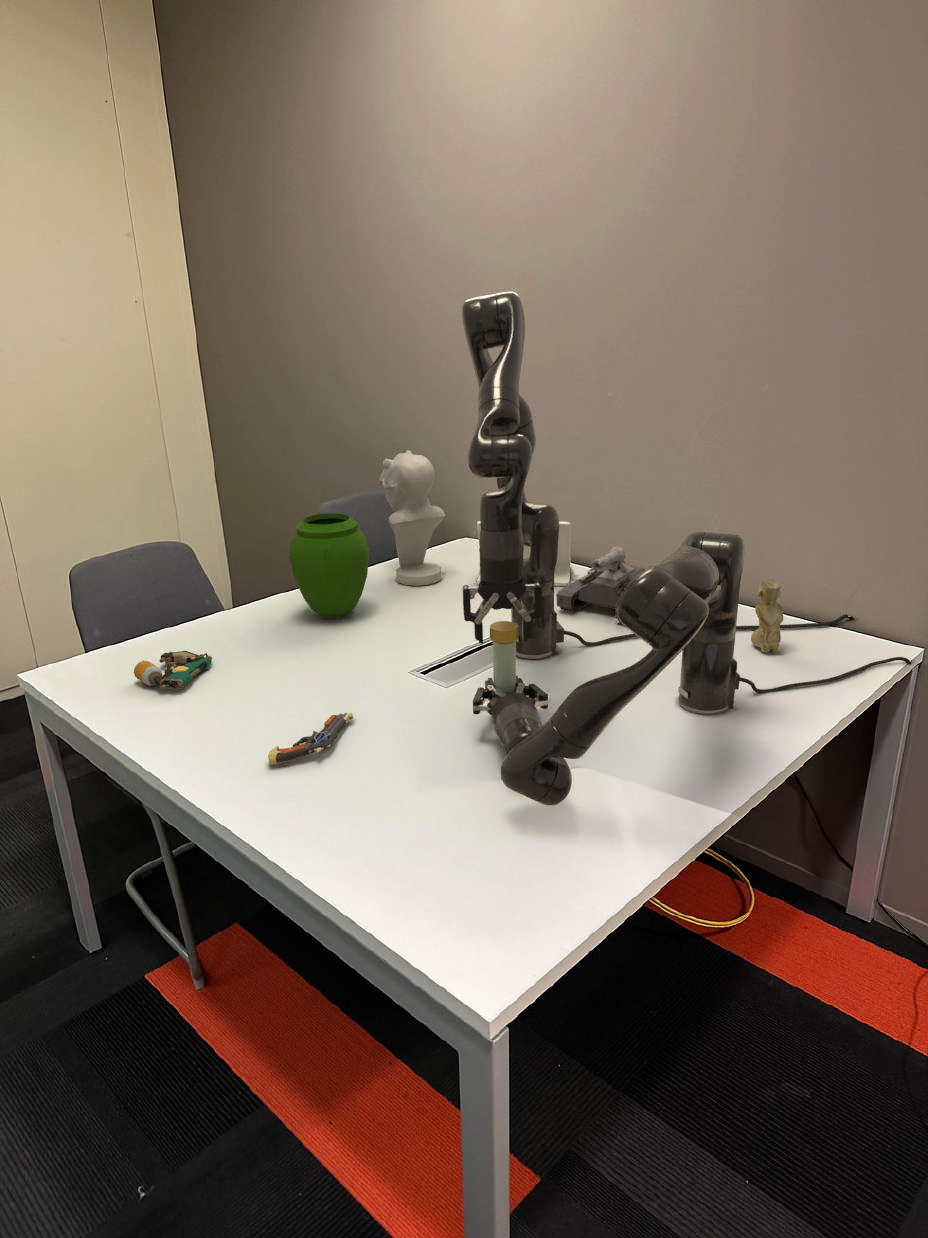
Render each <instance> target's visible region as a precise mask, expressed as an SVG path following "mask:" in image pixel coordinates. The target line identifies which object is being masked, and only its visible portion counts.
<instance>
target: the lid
mask: <svg viewBox="0 0 928 1238" xmlns="http://www.w3.org/2000/svg"><path fill="white" fill-rule="evenodd" d="M518 637H519V630H518V625H517V624H516V623H514V622H511V621H510V620H500V621H495V622H492V623H491V624H490V625H489V639H490V640H491V641H492V642H493V641H494V642H497V643H511V642H514V641H516V640H517V639H518Z"/></svg>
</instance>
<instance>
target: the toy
mask: <svg viewBox="0 0 928 1238" xmlns="http://www.w3.org/2000/svg"><path fill="white" fill-rule="evenodd" d="M626 557H627V556H626V551H625V549H624V548H622V547H621V546H614V547H612V548H611V549H610V550H609V552H608V553H607V554H605V555H604V556H601V557H599V558H598V559H597V557H596V558H594V559H593V560H592V561H590V562H589V563H590V564H591V565H592V567H591V568H590V569H589V570H587V573H586V575H584V576H582V577H580V578H578V579H577V580H575V581H573V582H570V583H569V585H567V586H563V587H562V588H560V589H559V590H558V591H557V592H556V607H558V608H559V609H560V610H562V611H566V612H572V613H575V612H577V611H579V610H581V609H582V608H585V607H586V606H588V605H592V606H598V607H602V608H603V607H604V608H609V609H613V610H614V618H615V619H617V620H618V621H620V620H619V619H618V617H617V614H616V606H617V602H618V600H619V597H620V595H621V594H622V592H623V591H624V589H625V588H626V587H627V585H628V584H629V583H630V582H631V581H632V580H633V579H634V578H635V577H636V576H638V575H639V574H640V573H642V572H643V571H645V570H646V568H644V567H641V566H635V565H629V564H628V563H627V562H626V561H625V559H626Z"/></svg>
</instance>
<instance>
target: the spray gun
mask: <svg viewBox="0 0 928 1238" xmlns="http://www.w3.org/2000/svg"><path fill="white" fill-rule="evenodd" d="M212 660H213V657H212V656H211V655H208V653H207V652H205V653H201V654H197V653H194V652H192V651H191V652H190V651H188V650H180V651H169V652H164V653H162V654H161V655H160V658H159V660H158V662H159V663H161V664H163V663H165V664H166V668H165V670H163V672H164V674H163V673H162V669H160V668H159V666H157V665H156V664H154V663H152V662H151V661H149V660H141V661H139V662H138V663H136V665H135V666H134V668H133V675H134V677H135V678H136V679H137V680H139V681H140V682H142V683H143V684H145V685H147V686H155V685H157V686H158V687H160V688H161V689H171V690H172V689H173V690H182V689H184V687H185V686H186V685H188V684H189V683H190V682H191V681H192V679H193V678H195V677H196V676H197V675H198V674H200V673H201V672H202V671H203V670H206V669H208V668H209V667H210V666H211V665H212V662H213V661H212ZM178 663H179V664H181V665H179V666H176V665H177V664H178Z"/></svg>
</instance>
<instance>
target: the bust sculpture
mask: <svg viewBox="0 0 928 1238" xmlns="http://www.w3.org/2000/svg"><path fill="white" fill-rule="evenodd" d="M382 465H383V467H384V469H383V471H382V472H381V474H380V476H379V479H378V486H382V488H383V491H384V497H385V500H386V502H387V504H388V505H389V506H390V508H391V509H392V510H393V513H392V514H391V515H390V516H389V517H388V524H389V527H390V528H391V531H393V533H394V540H395V548H396V554H397V559H398V564H399V566H398V567H397V568H396V569H395V575H396V576H395V578H396V582H398V583H399V584H402V585H406V586H416V587H417V586H429V585H432V584H435V583H438V582H440V581H441V580H442V579H443V575H442V573H443V572H442V566H440V565H438V564H435V563H429V562H425V557H426V554H427V551H428V547H429V544H430V542H431V538H432V536H433V534H434V532H435V530H436V528H437V527H438V525H440V523H441V522H442V521H443V520H444V519H445V518H446V513H445V511H444V510H443V509H442V507H439V506H437V505H431V502H430V499H429V496H428V494H429V493H430V492H431V490H432V488H433V485H434V481H435V468H434V466H433V463H432V462H431V461H430V460H429V459H428V458H427V457H426V456H424V455H421V454H413V452H412V451H411V450H409V449H406V451H405V452H402V453H401V452H400V453H398V454H396V456H394V458H393V459H390V458H384V460H383V461H382Z"/></svg>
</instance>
